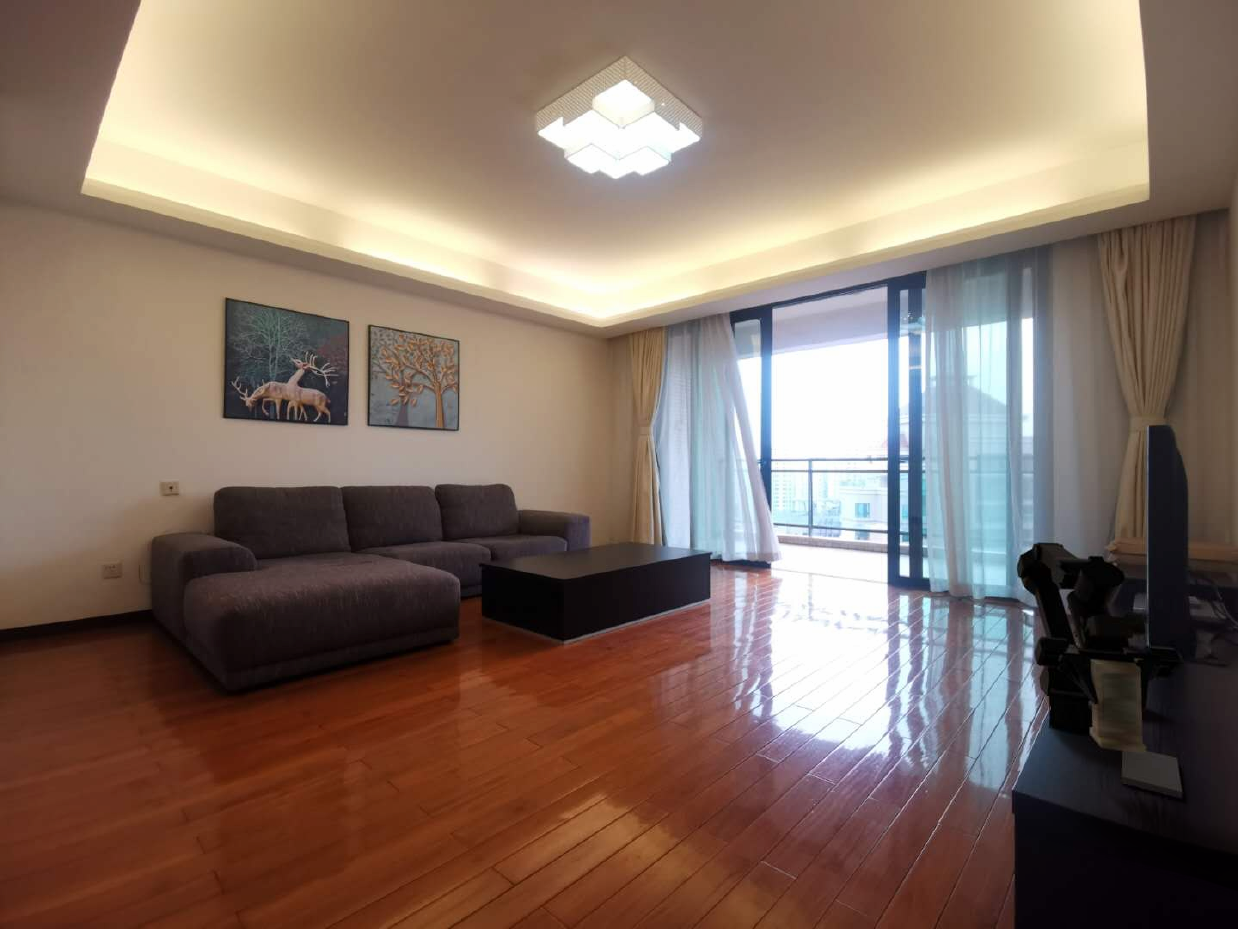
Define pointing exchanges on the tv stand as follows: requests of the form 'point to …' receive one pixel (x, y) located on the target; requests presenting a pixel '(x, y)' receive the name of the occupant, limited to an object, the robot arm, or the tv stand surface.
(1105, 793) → the tv stand surface
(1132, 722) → the tapered block
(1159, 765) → the slate tile
